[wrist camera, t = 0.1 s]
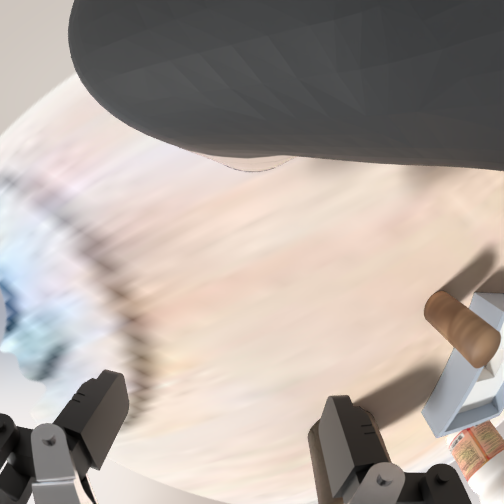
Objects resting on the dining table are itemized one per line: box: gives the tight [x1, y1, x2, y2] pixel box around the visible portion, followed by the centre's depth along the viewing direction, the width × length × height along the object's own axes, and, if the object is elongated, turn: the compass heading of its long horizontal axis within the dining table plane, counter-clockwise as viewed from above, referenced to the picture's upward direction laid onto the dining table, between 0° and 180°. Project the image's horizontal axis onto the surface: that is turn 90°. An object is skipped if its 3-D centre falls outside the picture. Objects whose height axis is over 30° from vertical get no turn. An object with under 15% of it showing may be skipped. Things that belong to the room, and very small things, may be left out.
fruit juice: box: [446, 420, 504, 504], centre depth 21 cm, size 9×9×28 cm
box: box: [421, 292, 504, 438], centre depth 27 cm, size 20×16×6 cm
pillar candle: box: [308, 411, 392, 504], centre depth 25 cm, size 10×10×15 cm
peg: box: [424, 291, 501, 368], centre depth 22 cm, size 4×4×10 cm
